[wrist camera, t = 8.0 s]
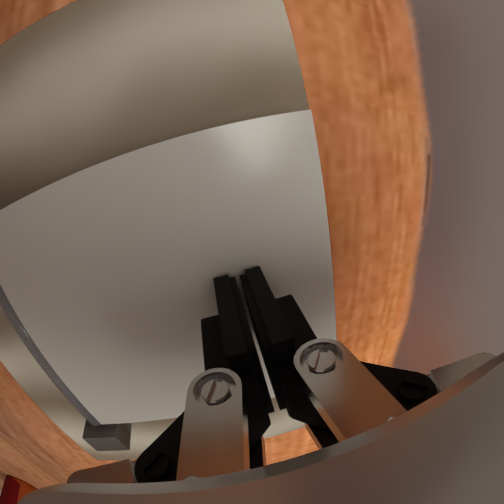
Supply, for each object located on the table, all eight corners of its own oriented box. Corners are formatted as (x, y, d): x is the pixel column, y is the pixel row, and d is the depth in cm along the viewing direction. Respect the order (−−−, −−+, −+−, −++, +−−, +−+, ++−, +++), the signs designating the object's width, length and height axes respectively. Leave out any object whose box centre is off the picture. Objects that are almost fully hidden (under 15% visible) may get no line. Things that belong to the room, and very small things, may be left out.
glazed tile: (-38, 233, 7) (312, 109, 8) (-23, 223, 8) (299, 111, 9) (87, 426, 12) (337, 378, 13) (91, 410, 13) (329, 362, 14)
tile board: (-75, 128, 6) (-111, 136, 3) (262, -30, 8) (282, -67, 5) (98, 448, 17) (95, 479, 14) (329, 403, 19) (346, 436, 16)
